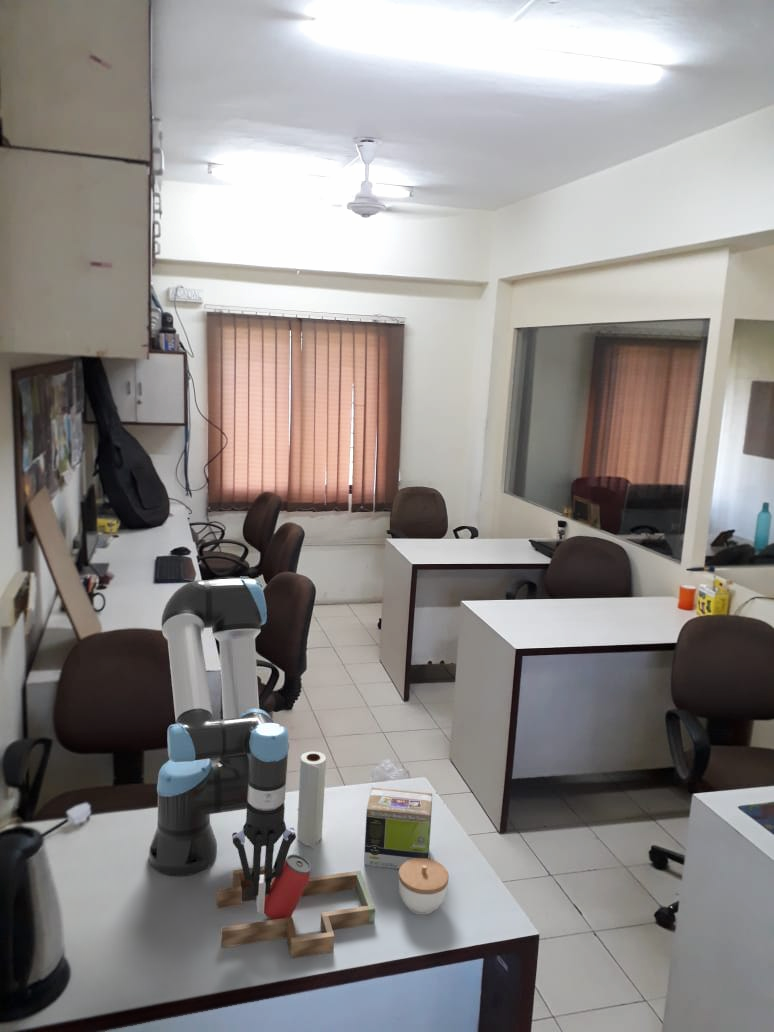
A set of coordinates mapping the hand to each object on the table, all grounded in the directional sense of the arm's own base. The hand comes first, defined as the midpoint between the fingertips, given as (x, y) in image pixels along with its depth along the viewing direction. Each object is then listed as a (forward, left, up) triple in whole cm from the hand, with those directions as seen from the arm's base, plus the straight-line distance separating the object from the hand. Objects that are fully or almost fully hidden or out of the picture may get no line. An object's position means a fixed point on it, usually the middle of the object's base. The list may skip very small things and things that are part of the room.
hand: (260, 907), depth 157 cm
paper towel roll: (+2, +30, -4) cm, 30 cm away
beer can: (+3, +2, -3) cm, 4 cm away
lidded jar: (+32, +14, -4) cm, 35 cm away
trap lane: (+6, +4, -4) cm, 8 cm away
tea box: (+24, +29, -4) cm, 38 cm away
